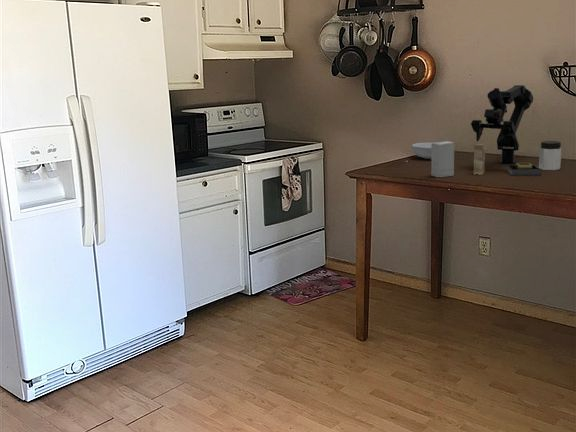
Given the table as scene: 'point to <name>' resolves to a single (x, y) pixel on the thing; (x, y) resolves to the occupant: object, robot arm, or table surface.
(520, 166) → the gray square tray
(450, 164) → the skincare box
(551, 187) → the table surface
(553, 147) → the jar
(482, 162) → the tan square peg
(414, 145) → the serving bowl
